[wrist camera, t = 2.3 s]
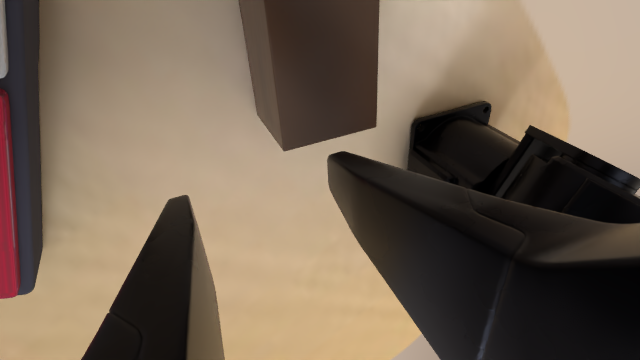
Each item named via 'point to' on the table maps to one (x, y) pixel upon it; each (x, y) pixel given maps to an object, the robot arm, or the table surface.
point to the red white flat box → (19, 148)
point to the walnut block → (313, 67)
